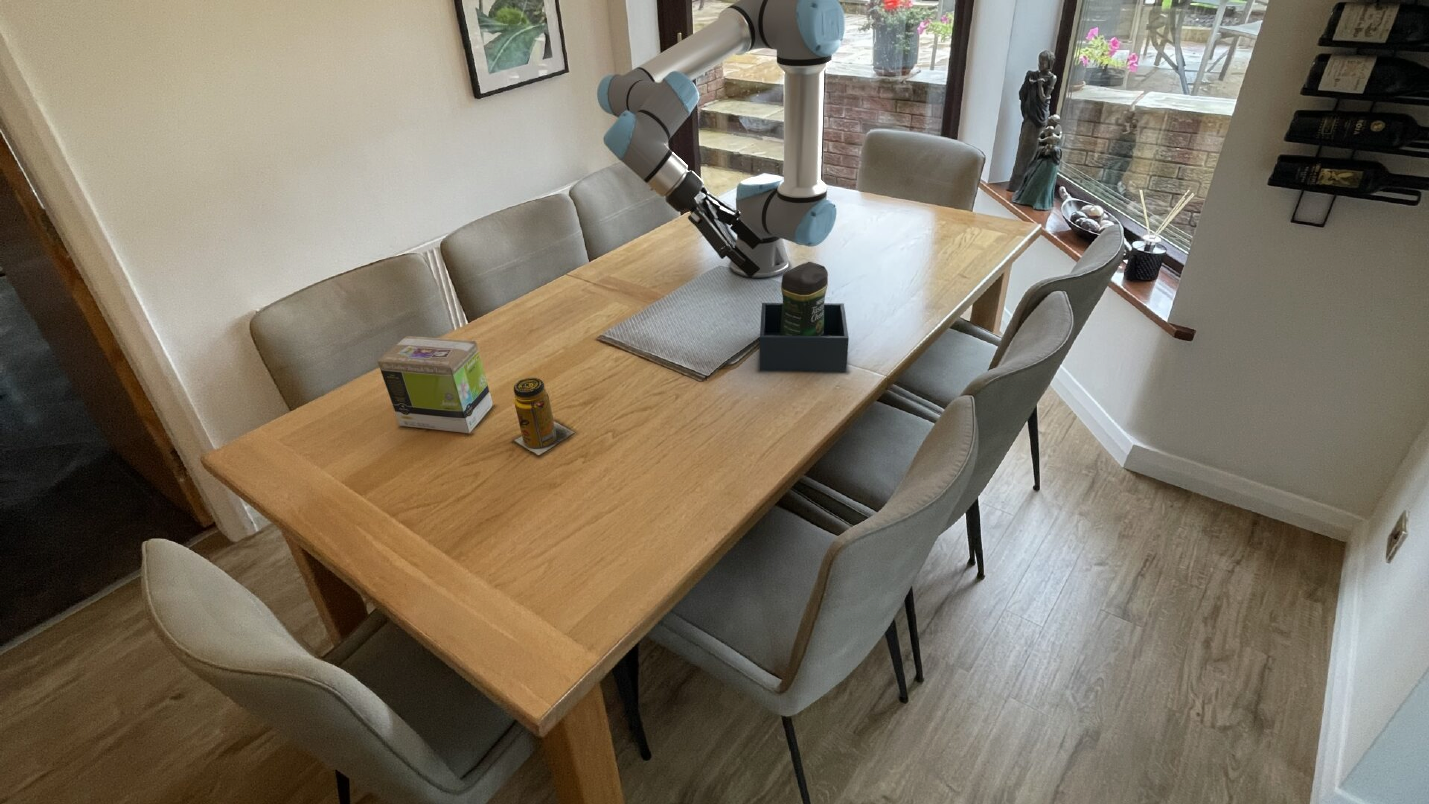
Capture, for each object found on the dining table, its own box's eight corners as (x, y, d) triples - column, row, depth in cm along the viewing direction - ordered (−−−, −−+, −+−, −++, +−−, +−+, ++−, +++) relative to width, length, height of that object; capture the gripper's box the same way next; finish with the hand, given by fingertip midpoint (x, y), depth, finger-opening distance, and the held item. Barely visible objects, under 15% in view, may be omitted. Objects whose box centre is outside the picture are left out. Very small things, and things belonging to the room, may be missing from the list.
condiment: (513, 441, 133) (500, 386, 126) (549, 419, 138) (539, 365, 132) (539, 456, 129) (526, 400, 122) (575, 433, 134) (565, 379, 128)
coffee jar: (803, 364, 150) (806, 281, 139) (773, 351, 154) (774, 270, 144) (830, 345, 156) (835, 264, 145) (800, 334, 160) (803, 255, 150)
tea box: (494, 405, 143) (478, 339, 135) (469, 435, 135) (450, 367, 127) (426, 397, 146) (406, 333, 138) (397, 427, 138) (374, 360, 130)
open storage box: (761, 335, 162) (761, 302, 158) (841, 335, 161) (843, 303, 156) (759, 371, 150) (759, 337, 146) (846, 372, 149) (848, 338, 144)
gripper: (671, 177, 149) (745, 246, 156) (653, 221, 128) (740, 298, 136) (696, 150, 145) (770, 222, 153) (682, 191, 125) (769, 272, 132)
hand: (756, 258), depth 144 cm, fingers open, 13 cm apart
